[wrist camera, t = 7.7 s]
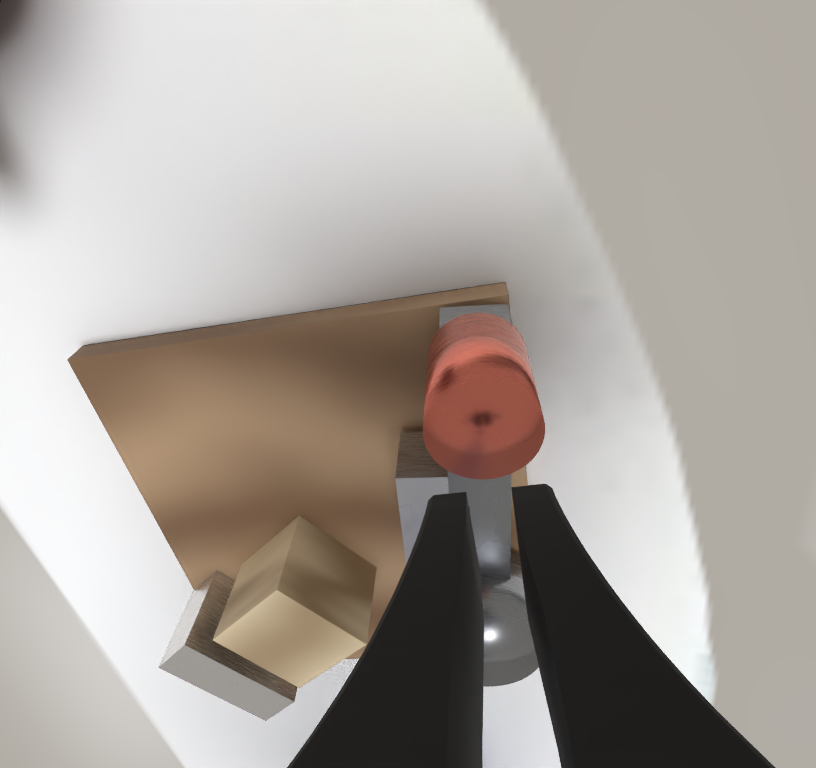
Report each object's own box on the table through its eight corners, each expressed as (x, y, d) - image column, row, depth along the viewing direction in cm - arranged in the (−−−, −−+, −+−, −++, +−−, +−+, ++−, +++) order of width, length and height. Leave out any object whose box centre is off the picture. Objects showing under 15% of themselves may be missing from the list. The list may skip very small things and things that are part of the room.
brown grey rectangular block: (311, 624, 26) (294, 701, 23) (286, 643, 27) (266, 720, 24) (216, 569, 24) (184, 644, 21) (192, 592, 25) (158, 667, 22)
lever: (531, 612, 24) (549, 737, 20) (421, 613, 25) (415, 735, 20) (542, 288, 17) (575, 377, 12) (385, 298, 17) (364, 386, 13)
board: (541, 627, 27) (544, 647, 26) (242, 646, 29) (236, 665, 28) (505, 282, 18) (508, 294, 17) (83, 345, 20) (67, 359, 19)
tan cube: (376, 567, 24) (366, 644, 21) (316, 610, 25) (299, 687, 22) (299, 515, 22) (276, 589, 19) (241, 564, 24) (212, 640, 21)
